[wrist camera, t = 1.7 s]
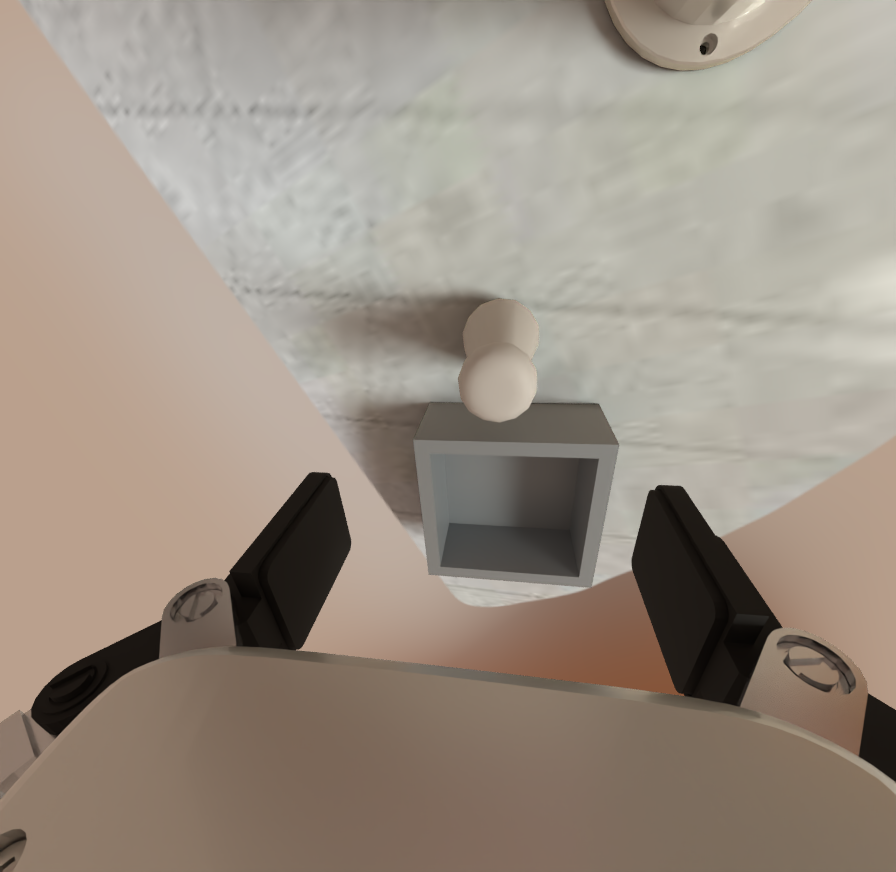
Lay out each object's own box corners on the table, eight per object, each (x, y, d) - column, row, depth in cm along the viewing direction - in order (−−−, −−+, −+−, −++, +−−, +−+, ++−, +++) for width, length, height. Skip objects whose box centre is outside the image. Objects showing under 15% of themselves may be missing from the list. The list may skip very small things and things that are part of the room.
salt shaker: (478, 372, 33) (461, 450, 21) (456, 308, 30) (424, 358, 19) (545, 352, 31) (565, 425, 20) (527, 282, 29) (538, 320, 17)
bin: (429, 402, 35) (413, 439, 29) (599, 403, 32) (619, 444, 26) (440, 524, 42) (428, 574, 36) (579, 532, 40) (591, 587, 34)
